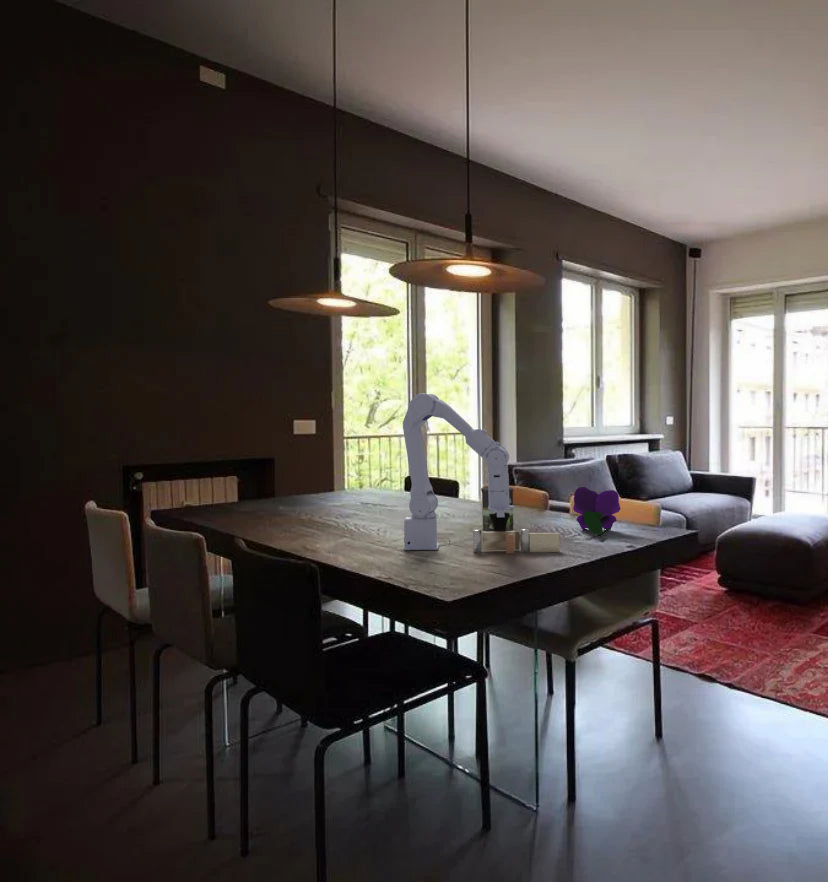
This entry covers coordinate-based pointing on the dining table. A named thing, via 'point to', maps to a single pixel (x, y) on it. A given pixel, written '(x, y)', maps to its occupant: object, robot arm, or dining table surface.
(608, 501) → the flower
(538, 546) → the gate frame
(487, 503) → the coffee can
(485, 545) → the gate leaf
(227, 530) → the dining table surface
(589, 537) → the dining table surface
